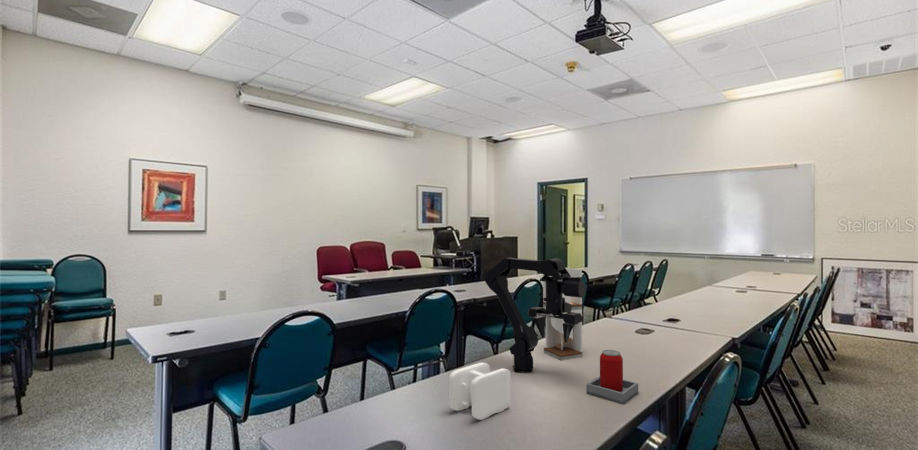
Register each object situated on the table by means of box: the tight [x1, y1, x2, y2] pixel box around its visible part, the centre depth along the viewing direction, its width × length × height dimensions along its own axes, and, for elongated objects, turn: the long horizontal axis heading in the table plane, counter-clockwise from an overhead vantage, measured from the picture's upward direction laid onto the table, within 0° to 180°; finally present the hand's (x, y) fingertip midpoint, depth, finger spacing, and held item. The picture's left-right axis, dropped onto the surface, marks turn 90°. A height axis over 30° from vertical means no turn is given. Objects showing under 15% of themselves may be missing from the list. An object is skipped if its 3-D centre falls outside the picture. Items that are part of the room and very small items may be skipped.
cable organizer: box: [448, 361, 512, 421], centre depth 119 cm, size 15×11×12 cm
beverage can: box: [599, 349, 624, 392], centre depth 130 cm, size 7×7×12 cm
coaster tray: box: [585, 375, 639, 405], centre depth 130 cm, size 12×12×3 cm
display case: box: [542, 267, 583, 361], centre depth 170 cm, size 11×11×35 cm
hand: (554, 339), depth 144 cm, fingers open, 9 cm apart
